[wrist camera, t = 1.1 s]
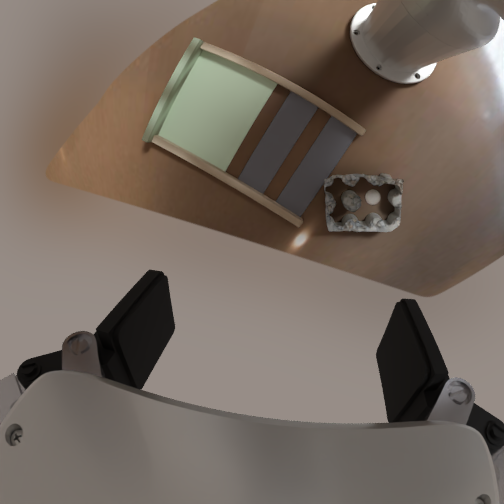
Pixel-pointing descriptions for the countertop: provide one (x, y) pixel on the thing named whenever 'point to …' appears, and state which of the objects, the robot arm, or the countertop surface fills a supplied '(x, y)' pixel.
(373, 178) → the egg carton
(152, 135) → the channel
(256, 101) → the pad
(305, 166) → the strips
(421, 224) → the countertop surface
